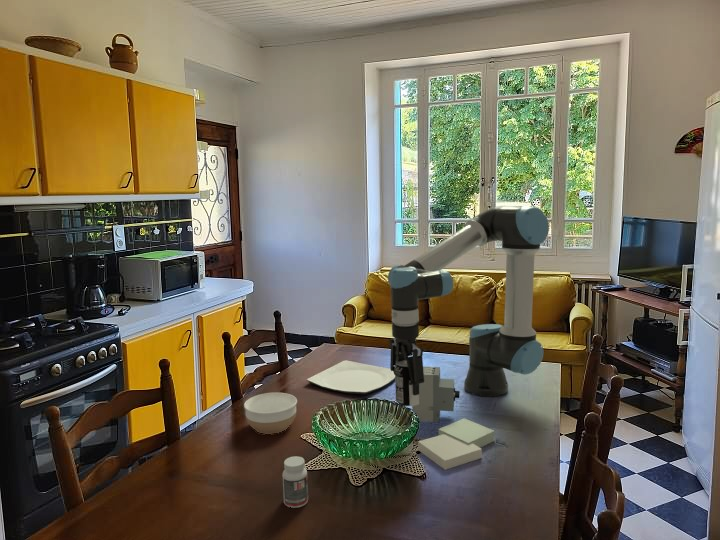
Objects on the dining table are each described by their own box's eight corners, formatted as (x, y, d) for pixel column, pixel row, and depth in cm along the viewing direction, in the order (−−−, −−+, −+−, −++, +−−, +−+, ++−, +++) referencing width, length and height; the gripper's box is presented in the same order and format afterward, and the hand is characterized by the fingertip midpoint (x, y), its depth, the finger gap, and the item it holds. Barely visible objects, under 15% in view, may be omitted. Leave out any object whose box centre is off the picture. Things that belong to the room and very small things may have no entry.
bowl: (234, 428, 161) (233, 403, 160) (276, 411, 172) (275, 388, 171) (266, 444, 150) (265, 417, 149) (309, 425, 161) (308, 400, 160)
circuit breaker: (459, 423, 160) (459, 376, 158) (412, 420, 163) (411, 374, 161) (459, 413, 168) (459, 368, 165) (414, 410, 170) (414, 366, 168)
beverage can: (421, 398, 154) (420, 359, 152) (415, 407, 148) (414, 366, 146) (399, 396, 156) (398, 357, 154) (393, 405, 150) (392, 365, 148)
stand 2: (453, 439, 150) (453, 431, 150) (481, 457, 139) (481, 448, 139) (418, 450, 144) (418, 441, 144) (445, 469, 134) (445, 460, 133)
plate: (405, 376, 203) (405, 369, 203) (367, 401, 179) (366, 394, 179) (344, 364, 218) (344, 358, 218) (301, 387, 195) (301, 380, 194)
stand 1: (464, 427, 157) (464, 418, 157) (494, 440, 149) (494, 430, 148) (438, 439, 150) (438, 429, 150) (468, 453, 142) (468, 442, 141)
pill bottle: (312, 503, 121) (311, 462, 119) (290, 512, 118) (288, 470, 116) (301, 491, 125) (299, 452, 124) (279, 499, 122) (277, 459, 121)
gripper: (376, 318, 155) (379, 392, 159) (413, 332, 138) (415, 415, 142) (398, 314, 158) (400, 387, 162) (436, 328, 141) (438, 409, 145)
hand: (407, 400), depth 152 cm, fingers closed on beverage can, 7 cm apart
